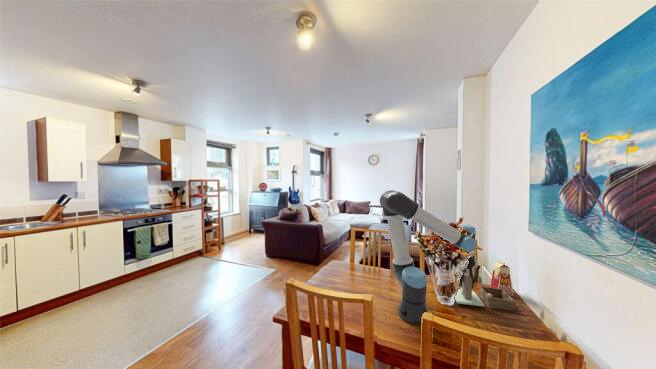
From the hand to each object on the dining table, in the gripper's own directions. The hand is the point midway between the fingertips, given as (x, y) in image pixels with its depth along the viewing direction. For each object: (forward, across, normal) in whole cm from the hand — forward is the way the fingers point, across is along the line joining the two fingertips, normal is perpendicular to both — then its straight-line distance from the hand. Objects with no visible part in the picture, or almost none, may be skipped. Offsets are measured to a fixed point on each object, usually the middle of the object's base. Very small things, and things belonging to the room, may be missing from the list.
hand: (465, 292), depth 131 cm
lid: (+3, 0, 0) cm, 3 cm away
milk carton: (+5, -25, -17) cm, 31 cm away
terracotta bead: (+4, -14, -5) cm, 16 cm away
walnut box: (+5, -16, -2) cm, 17 cm away
